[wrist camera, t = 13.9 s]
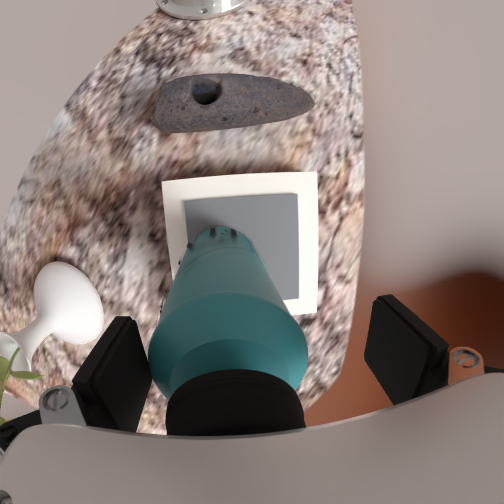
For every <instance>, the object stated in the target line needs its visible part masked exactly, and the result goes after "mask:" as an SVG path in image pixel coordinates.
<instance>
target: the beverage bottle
mask: <svg viewBox="0 0 504 504" xmlns="http://www.w3.org/2000/svg"><path fill="white" fill-rule="evenodd" d="M207 228H208V227H207ZM236 229H237V228H236ZM240 231H241V230H240ZM243 233H244V232H243ZM196 235H197V236H196V237H195V238H193V240H192V241H191V240H189V241H191V242H189V243H188V244H187V249H186V252H185V254H184V256H183V259H182V258H181V259H182V261H181V260H179V262H178V264H179V265H180V266H179V269H178V271H177V270H176V271H177V273H176V274H175V272H174V274H175V276H174V277H175V278H174V279H173V283H172V286H171V289H170V291H169V294H168V296H167V299H166V302H165V304H164V307H163V305H162V306H161V305H160V306H161V307H163V311H162V310H161V311H160V313H161V312H162V313H161V315H160V320H159V323H158V326H157V327H156V329H155V331H154V333H153V335H152V338H151V341H150V345H149V349H148V363H149V369H150V373H151V376H152V378H153V380H154V382H155V384H156V386H157V387H158V389H159V390H160V391H161V392H162V394H163V395H164V396H165V397H166V398H167V399H168V400H169V401H168V405H167V411H166V421H165V424H166V430H167V435H174V436H234V435H250V434H262V433H271V432H280V431H287V430H294V429H301V428H306V425H305V421H304V412H303V408H302V405H301V402H300V400H299V397H298V395H297V393H296V391H295V390H296V388H297V387H298V386H299V384H300V382H301V381H302V379H303V377H304V374H305V372H306V368H307V362H308V347H307V342H306V338H305V336H304V333H303V331H302V330H301V328H300V326H299V325H298V323H297V322H296V320H295V319H294V318H293V317H292V316H291V314H290V312H289V311H288V309H287V307H286V305H285V303H284V302H283V300H282V298H281V296H280V295H279V293H278V291H277V289H276V287H275V286H274V284H273V282H272V280H271V279H270V277H269V275H268V273H267V270H266V268H265V266H264V264H263V263H262V261H261V259H260V256H259V255H260V253H257V251H256V249H255V248H254V246H253V244H254V243H253V242H252V240H251V239H250V238H249V239H250V240H249V239H248V238H247V237H246V236H245V234H242V233H241V232H239V231H237V230H235V229H232V227H231V228H229V227H228V226H227V227H226V225H225V227H217V225H216V227H213V228H211V227H210V228H209V229H207V230H204V231H203V232H201V233H199V234H196ZM251 242H252V243H253V244H252V243H251ZM256 248H257V247H256ZM257 250H258V249H257ZM183 252H184V251H183ZM258 254H259V255H258ZM261 257H262V256H261ZM180 262H181V264H180ZM266 266H267V265H266ZM177 268H178V267H177ZM172 277H173V276H172ZM169 285H171V284H169ZM167 289H168V288H167ZM166 293H167V291H166ZM164 296H165V295H164ZM163 300H164V299H163ZM163 300H162V302H163ZM162 304H163V303H162ZM161 309H162V308H161ZM157 318H158V317H157ZM156 324H157V322H156Z"/></svg>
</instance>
